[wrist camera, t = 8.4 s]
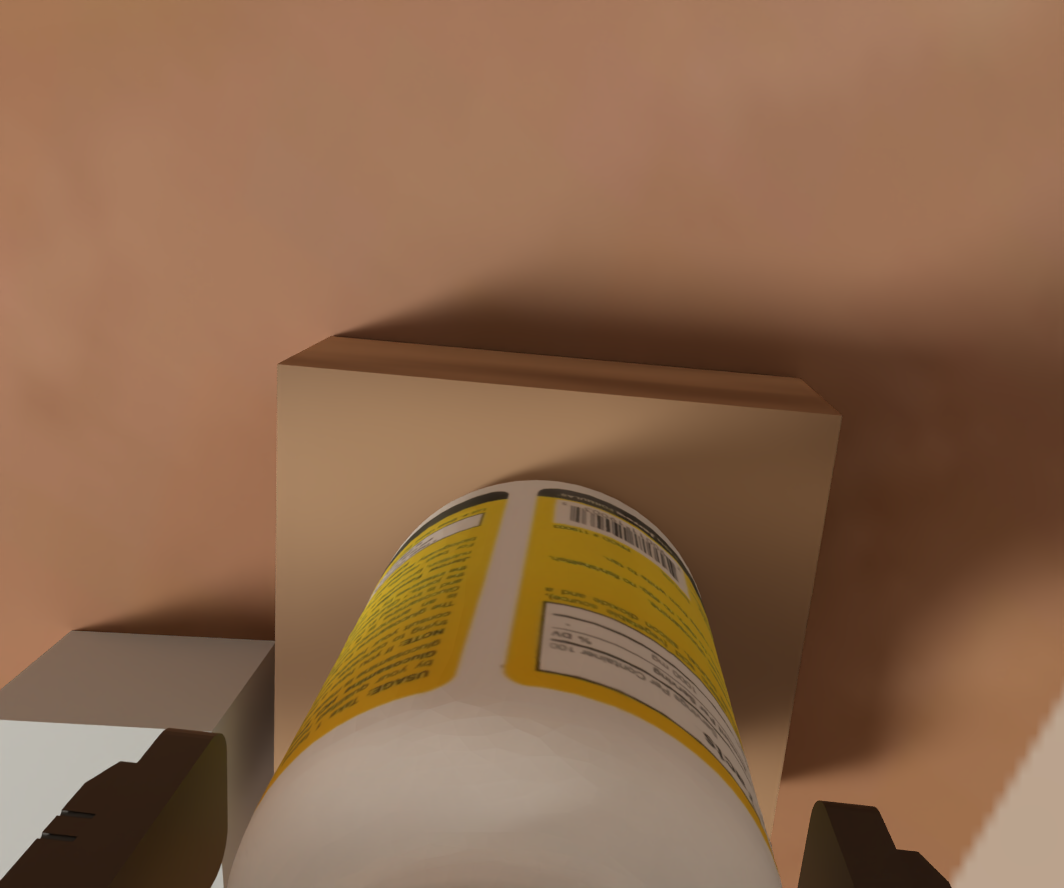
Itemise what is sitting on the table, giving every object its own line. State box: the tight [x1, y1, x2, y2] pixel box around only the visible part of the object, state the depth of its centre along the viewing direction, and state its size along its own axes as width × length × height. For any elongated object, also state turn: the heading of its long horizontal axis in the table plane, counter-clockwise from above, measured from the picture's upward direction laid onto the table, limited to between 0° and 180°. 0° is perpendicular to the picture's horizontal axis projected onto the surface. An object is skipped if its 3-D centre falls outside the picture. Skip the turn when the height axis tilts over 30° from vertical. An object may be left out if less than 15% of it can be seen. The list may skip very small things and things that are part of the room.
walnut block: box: [274, 336, 842, 840], centre depth 19 cm, size 10×10×4 cm
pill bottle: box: [227, 480, 782, 888], centre depth 12 cm, size 6×6×11 cm
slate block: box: [0, 631, 275, 888], centre depth 21 cm, size 5×5×4 cm
